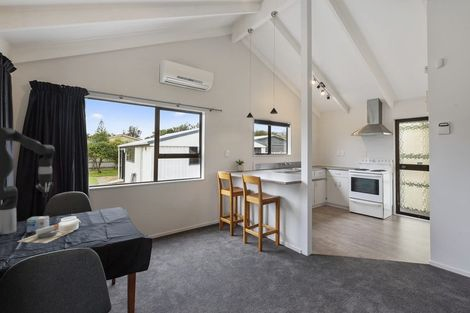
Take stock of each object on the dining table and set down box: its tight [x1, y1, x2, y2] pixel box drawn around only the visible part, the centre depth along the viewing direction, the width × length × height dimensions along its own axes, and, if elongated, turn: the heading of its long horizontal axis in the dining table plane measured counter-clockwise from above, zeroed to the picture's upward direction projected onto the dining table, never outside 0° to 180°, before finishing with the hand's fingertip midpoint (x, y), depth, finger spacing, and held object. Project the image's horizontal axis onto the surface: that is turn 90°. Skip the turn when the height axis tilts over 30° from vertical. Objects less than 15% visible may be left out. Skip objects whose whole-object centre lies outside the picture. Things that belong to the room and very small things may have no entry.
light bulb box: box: [26, 215, 50, 233], centre depth 162 cm, size 11×7×11 cm, turn 105°
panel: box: [16, 229, 73, 244], centre depth 152 cm, size 20×22×2 cm
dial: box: [35, 224, 59, 238], centre depth 152 cm, size 12×10×6 cm
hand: (45, 197), depth 159 cm, fingers closed
